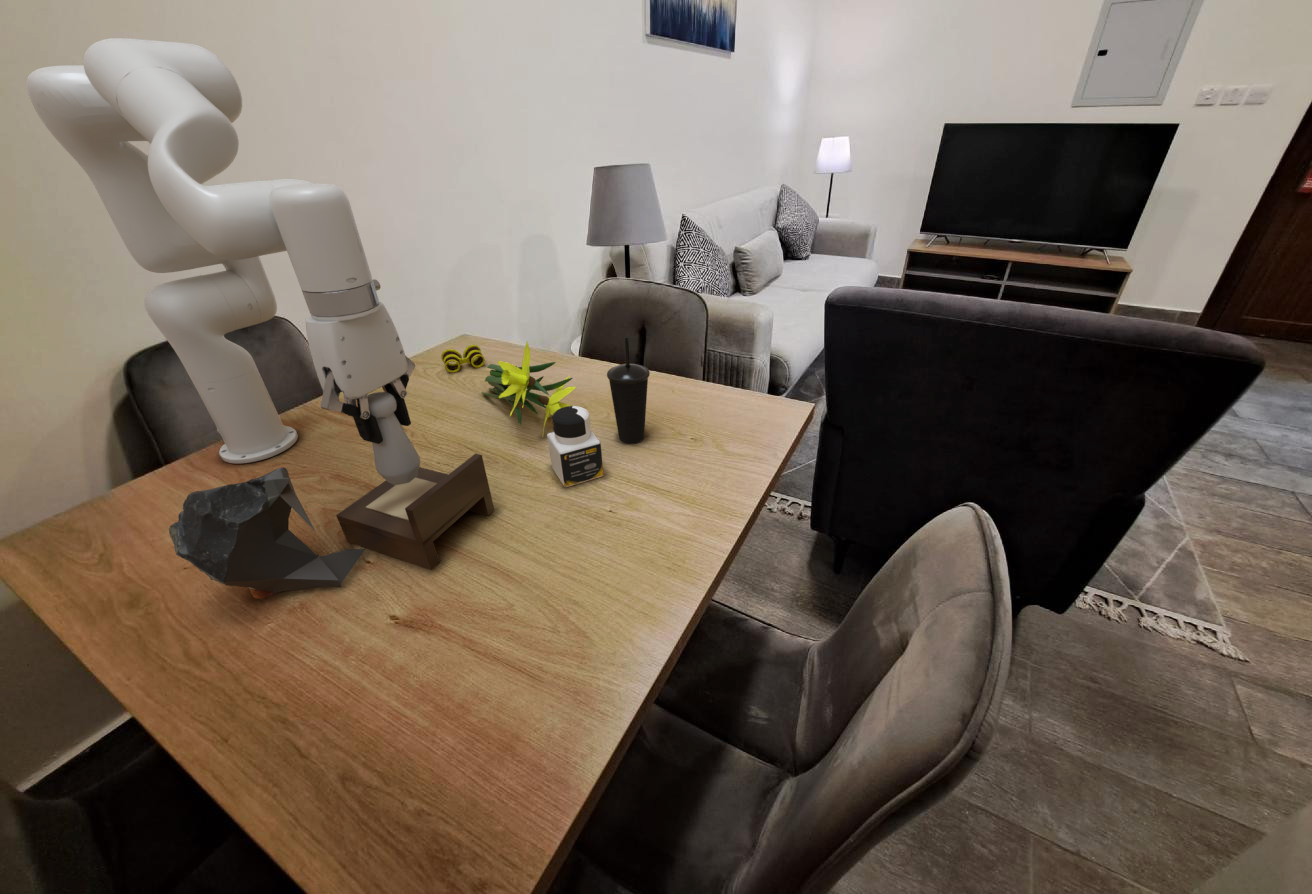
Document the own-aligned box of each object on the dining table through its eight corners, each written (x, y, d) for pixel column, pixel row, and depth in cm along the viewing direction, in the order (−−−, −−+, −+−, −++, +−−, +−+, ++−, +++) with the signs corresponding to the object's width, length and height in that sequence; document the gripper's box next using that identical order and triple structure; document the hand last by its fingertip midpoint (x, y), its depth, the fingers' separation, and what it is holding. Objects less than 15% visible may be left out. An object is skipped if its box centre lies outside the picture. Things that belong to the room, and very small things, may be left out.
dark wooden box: (347, 541, 78) (322, 484, 72) (416, 489, 89) (399, 435, 83) (431, 570, 73) (411, 510, 67) (494, 510, 84) (481, 454, 78)
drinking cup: (646, 449, 98) (643, 347, 87) (607, 446, 99) (598, 345, 89) (655, 429, 104) (652, 331, 94) (617, 426, 106) (611, 329, 95)
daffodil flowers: (541, 381, 127) (611, 395, 98) (500, 427, 123) (560, 456, 95) (488, 329, 118) (548, 329, 89) (443, 378, 115) (490, 393, 86)
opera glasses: (447, 377, 130) (443, 359, 127) (443, 366, 133) (439, 349, 130) (487, 369, 134) (484, 352, 131) (481, 358, 137) (478, 341, 134)
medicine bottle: (564, 488, 88) (556, 426, 82) (551, 467, 94) (542, 407, 87) (604, 476, 91) (598, 415, 85) (589, 457, 96) (582, 398, 90)
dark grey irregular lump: (270, 547, 78) (214, 443, 69) (372, 547, 78) (329, 442, 68) (196, 625, 66) (116, 511, 57) (316, 625, 65) (255, 511, 56)
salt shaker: (432, 469, 78) (408, 390, 71) (405, 492, 73) (376, 409, 66) (400, 463, 80) (374, 384, 73) (372, 484, 75) (341, 402, 68)
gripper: (375, 279, 71) (412, 401, 80) (253, 318, 58) (314, 458, 67) (419, 284, 68) (451, 409, 78) (301, 325, 55) (357, 470, 65)
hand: (387, 431), depth 72 cm, fingers closed on salt shaker, 4 cm apart
